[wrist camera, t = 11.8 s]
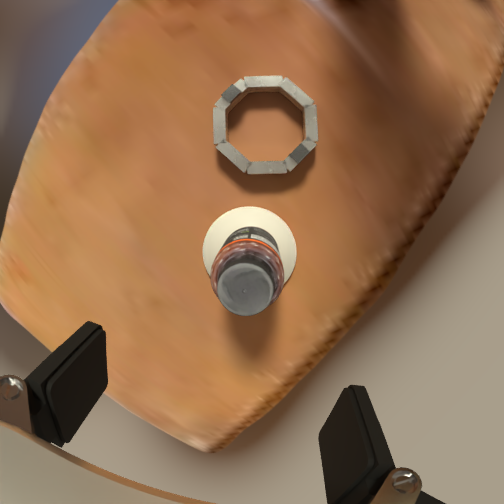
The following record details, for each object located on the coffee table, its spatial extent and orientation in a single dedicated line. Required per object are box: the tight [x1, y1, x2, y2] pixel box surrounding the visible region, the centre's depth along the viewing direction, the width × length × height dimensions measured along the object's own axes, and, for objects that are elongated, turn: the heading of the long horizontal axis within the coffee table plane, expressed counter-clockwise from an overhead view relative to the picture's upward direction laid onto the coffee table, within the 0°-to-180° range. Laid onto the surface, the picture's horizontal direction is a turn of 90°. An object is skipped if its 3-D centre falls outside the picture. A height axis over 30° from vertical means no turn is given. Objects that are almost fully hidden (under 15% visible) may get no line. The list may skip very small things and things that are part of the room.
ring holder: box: [213, 76, 318, 174], centre depth 28 cm, size 10×10×3 cm
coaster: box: [203, 206, 297, 283], centre depth 32 cm, size 10×10×1 cm
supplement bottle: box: [210, 226, 284, 316], centre depth 26 cm, size 6×6×11 cm
